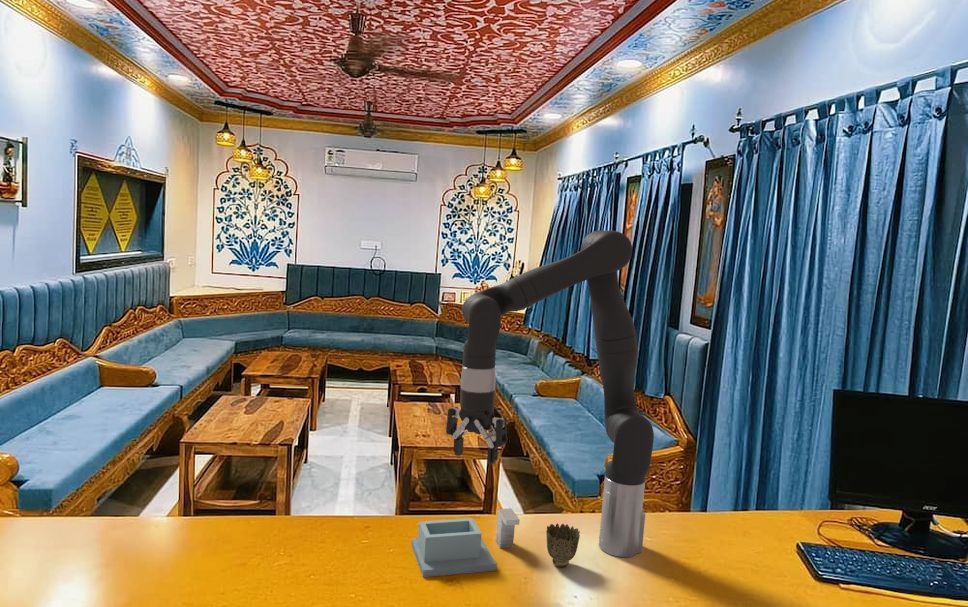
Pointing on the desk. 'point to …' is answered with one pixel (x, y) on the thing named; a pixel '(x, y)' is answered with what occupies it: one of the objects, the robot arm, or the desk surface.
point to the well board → (451, 548)
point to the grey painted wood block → (506, 527)
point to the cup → (562, 543)
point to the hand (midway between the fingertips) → (474, 458)
